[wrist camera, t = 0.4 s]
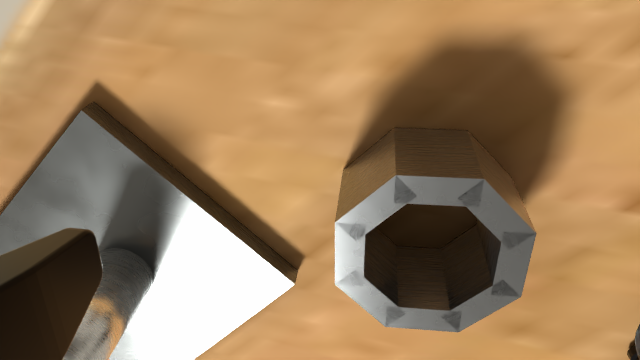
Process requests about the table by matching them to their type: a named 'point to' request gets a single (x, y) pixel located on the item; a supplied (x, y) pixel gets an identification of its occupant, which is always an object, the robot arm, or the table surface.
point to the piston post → (144, 246)
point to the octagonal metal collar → (431, 263)
